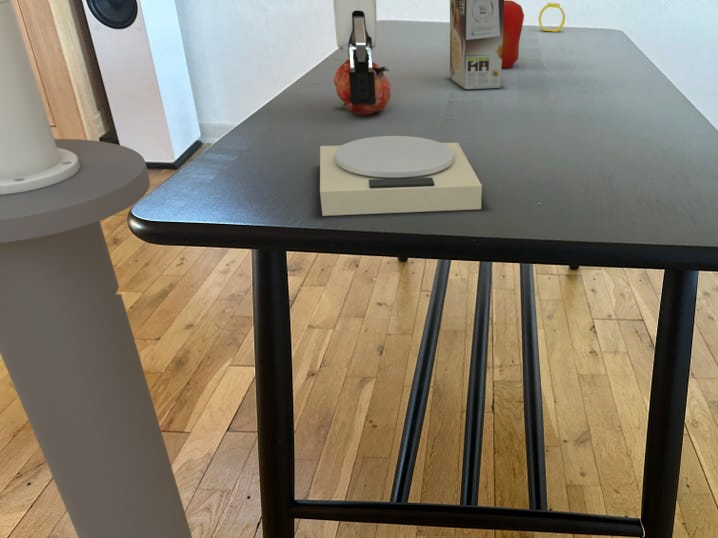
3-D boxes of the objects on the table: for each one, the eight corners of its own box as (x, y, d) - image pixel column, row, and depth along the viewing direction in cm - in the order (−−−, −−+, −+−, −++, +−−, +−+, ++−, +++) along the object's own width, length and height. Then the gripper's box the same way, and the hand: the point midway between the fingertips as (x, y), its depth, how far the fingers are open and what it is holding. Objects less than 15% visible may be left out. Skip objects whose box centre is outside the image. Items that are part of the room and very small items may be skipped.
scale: (322, 216, 64) (318, 181, 62) (322, 167, 75) (319, 137, 73) (481, 209, 66) (482, 175, 65) (457, 163, 78) (458, 134, 76)
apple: (498, 59, 130) (500, -11, 124) (531, 66, 126) (536, -6, 119) (465, 65, 125) (466, -9, 119) (498, 72, 120) (501, -4, 114)
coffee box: (502, 88, 110) (507, -27, 101) (464, 90, 108) (466, -27, 99) (483, 76, 117) (486, -32, 108) (447, 78, 116) (447, -32, 107)
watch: (538, 32, 161) (540, 3, 157) (537, 30, 163) (539, 2, 160) (564, 32, 161) (566, 4, 158) (562, 30, 163) (565, 2, 160)
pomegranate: (331, 133, 94) (372, 96, 87) (309, 82, 94) (349, 41, 87) (371, 129, 99) (413, 93, 92) (351, 81, 99) (391, 42, 92)
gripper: (321, -60, 90) (333, 83, 100) (321, -52, 76) (334, 113, 86) (378, -58, 92) (385, 82, 101) (389, -50, 77) (395, 112, 87)
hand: (362, 96), depth 94 cm, fingers closed on pomegranate, 7 cm apart
